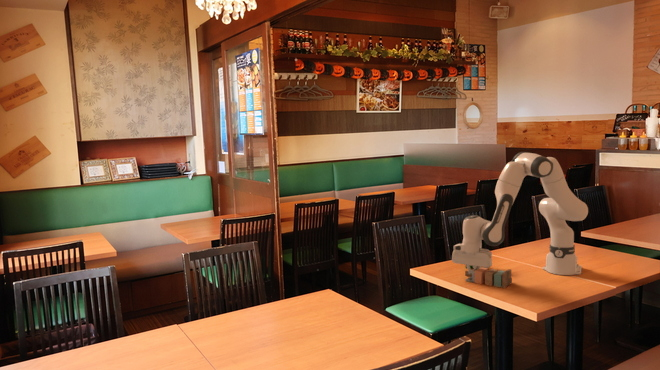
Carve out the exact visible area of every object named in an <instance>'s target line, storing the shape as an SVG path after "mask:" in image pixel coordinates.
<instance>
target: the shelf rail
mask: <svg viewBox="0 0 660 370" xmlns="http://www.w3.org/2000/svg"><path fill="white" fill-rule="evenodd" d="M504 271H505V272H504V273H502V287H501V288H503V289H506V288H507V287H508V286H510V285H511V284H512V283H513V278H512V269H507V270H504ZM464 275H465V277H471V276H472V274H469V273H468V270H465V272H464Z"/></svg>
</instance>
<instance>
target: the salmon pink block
mask: <svg viewBox="0 0 660 370" xmlns="http://www.w3.org/2000/svg"><path fill="white" fill-rule="evenodd" d="M488 269H489V268H484V267H481V268H479V269H477V270H476V271H475V284H481V285H482V284H485V272H487V271H489V270H488Z"/></svg>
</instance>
